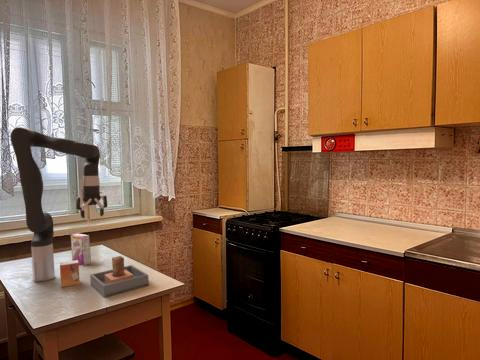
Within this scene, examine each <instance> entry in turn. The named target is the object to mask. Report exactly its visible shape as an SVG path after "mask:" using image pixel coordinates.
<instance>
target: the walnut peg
mask: <svg viewBox="0 0 480 360" xmlns="http://www.w3.org/2000/svg"><path fill="white" fill-rule="evenodd" d="M111 264H112V269H113V277H120V276H124V275H125V271H124V267H125V258H124V257H123V256H121V255H120V256H119V255H118V256H114V257H112V258H111Z"/></svg>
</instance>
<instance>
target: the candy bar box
mask: <svg viewBox="0 0 480 360" xmlns="http://www.w3.org/2000/svg"><path fill="white" fill-rule="evenodd" d="M70 245H71V255H72V256H71V258H72V260H71V261H75V260H78V263H79V266H80V265H81V266H87V265H90V264H92V260H91V259H92V258H91V255H92V254H91V243H90V235H89V234H88V235H87V234H83V233H73V234H70Z"/></svg>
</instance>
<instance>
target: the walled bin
mask: <svg viewBox="0 0 480 360" xmlns="http://www.w3.org/2000/svg"><path fill="white" fill-rule="evenodd" d="M124 271H125V275H124V276H120V277H113V268H112V269H107V270H104V271H99V272H96V273H90V274H89V277H90V279H89V281H90V285H91V287H92V288H93V289H95V290H96V291H97V292H98V293H99V294H100V295H101V296H102V297H103V298H108V297H111V296H115V295H118V294H123V293H126V292H130V291H133V290H137V289H140V288H144V287H148V286H150V285H149V284H150V282H149V281H150V280H149V274H147V273H146V272H145V271H142V270H140V269H139V268H137V267H136V266H134V265H132V264H130V265H126V266H125V265H124Z"/></svg>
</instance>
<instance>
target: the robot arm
mask: <svg viewBox="0 0 480 360" xmlns="http://www.w3.org/2000/svg"><path fill="white" fill-rule="evenodd" d="M9 137H10V143H11V145H12V148H13V151H14V152H13V153H14V155H15V159H16V164H17V170H18V174H19V175H18V176H19V182H20V187H21V191H22V197H23V201H24V206H25V207H24V208H25V221H26V222H25V223H26V226H27V229H28V230H29V231H30V232H32V233H33V236H32V238H31V241H30V247H31V248H30V250H31V258H32V259H31V270H32V279H33V281H34V282H35V283H38V282H46V281H50V280H52V279H55V277H56V274H55V271H56V270H55V261H54V246H53V245H54V244H53V243H54V242H53V240H54V239H53V238H54V219H53V216H52V215H51V214H50V213H49V212H46V211H43V210H44V209H43V205H42V199H43V194H44V193H43V191H44V181H43V176H42V172H41V169H40V167H39V165H38V164H37V162H36V161H35V159H34V156H33V153H32V148H44V149H48V150H52V151H55V152H58V153H60V154H61V153H63V154H67V155H70V156H76V157H79V158H82V159H85V163H84V165H83V167H82V174H83V176H82V190H83V191H82V192H83V193H82V194H83V196H82V197H81V196H80V197H78V196H77V197H76V199H75V204H76V205H75V206H76V207H75V209H76V210H77V211H80V217H81V218H82V219H85V218H86V217H85V214H86V213H85V209H86V208H87V206H96V205H97V206H98V207H99V216H100V217H103V216H104V214H105V211H104V209H105V208H107V207H108V199H107V195H101V192H100V189H101V188H100V186H101V185H100V184H101V182H100V177H99V174H100V173H99V164H100V160H101V159H100V158H101V153H100V148H99V147H98V146H97V145H95V144H90V143H82V142H78V141H76V140H71V139H68V138H63V137H58V136H57V137H55V136H51V135H47V134H44V133H42V132H39V131H36V130H33V129H31V128H29V127H23V126H22V127H20V126H18V127H15V128H13V129H12V130H11V132H10V136H9ZM101 200H102V202H103V203H101V202H100V201H101ZM82 201H83V203H82V205H81V202H82Z"/></svg>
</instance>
